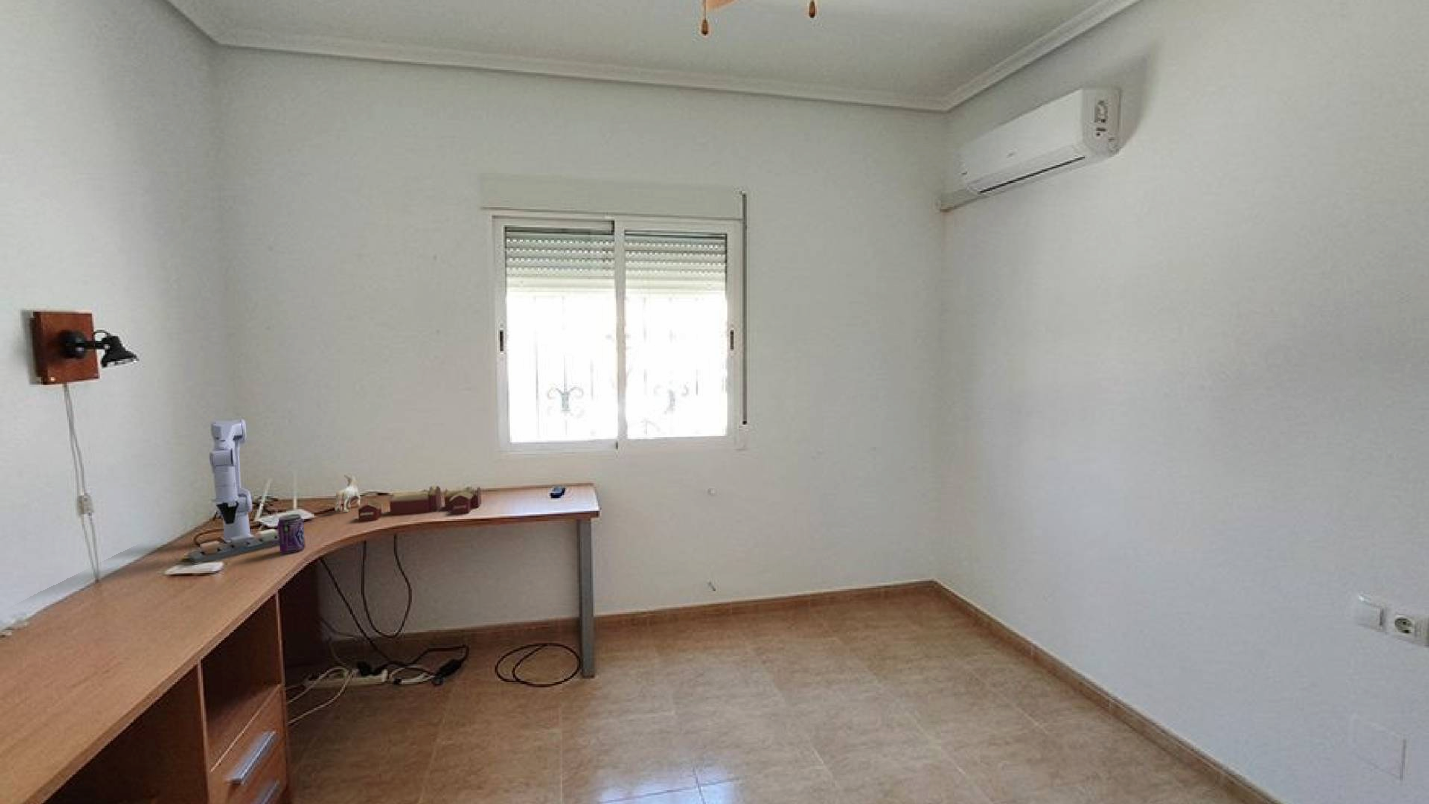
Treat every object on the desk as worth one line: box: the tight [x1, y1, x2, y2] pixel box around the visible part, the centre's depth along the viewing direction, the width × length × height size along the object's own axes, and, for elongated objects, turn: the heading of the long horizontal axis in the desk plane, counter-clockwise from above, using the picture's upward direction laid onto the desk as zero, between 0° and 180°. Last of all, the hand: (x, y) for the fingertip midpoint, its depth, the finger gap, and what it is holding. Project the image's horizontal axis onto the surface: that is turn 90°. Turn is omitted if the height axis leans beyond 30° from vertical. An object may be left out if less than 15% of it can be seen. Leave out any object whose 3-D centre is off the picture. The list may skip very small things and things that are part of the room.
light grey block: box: [230, 535, 250, 548], centre depth 207 cm, size 4×4×3 cm
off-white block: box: [257, 528, 278, 542], centre depth 214 cm, size 4×4×3 cm
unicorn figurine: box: [333, 474, 361, 513], centre depth 259 cm, size 7×20×13 cm, turn 18°
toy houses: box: [355, 485, 482, 523], centre depth 251 cm, size 45×20×10 cm, turn 103°
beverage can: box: [277, 513, 306, 554], centre depth 205 cm, size 7×7×12 cm
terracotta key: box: [199, 540, 221, 554], centre depth 201 cm, size 4×4×3 cm
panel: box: [187, 532, 280, 564], centre depth 208 cm, size 10×26×2 cm, turn 140°
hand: (229, 523), depth 206 cm, fingers closed
